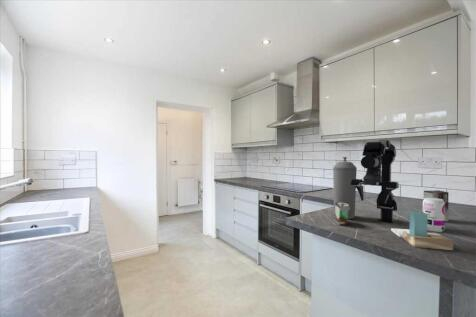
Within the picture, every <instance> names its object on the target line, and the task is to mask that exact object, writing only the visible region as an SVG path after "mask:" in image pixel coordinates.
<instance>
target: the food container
mask: <svg viewBox="0 0 476 317" xmlns="http://www.w3.org/2000/svg"><path fill="white" fill-rule="evenodd" d="M348 210H350V207H349V205H348V204H346V203H342V202H335V216H334V218H335V222H336V223H337V225H338V226H347V225H348V220H349V219H348Z"/></svg>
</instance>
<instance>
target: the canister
mask: <svg viewBox="0 0 476 317" xmlns="http://www.w3.org/2000/svg"><path fill="white" fill-rule="evenodd" d="M342 159H343V161H342V160H341V161H337V163H336V164H334V166H332V170H333V171H332V173H333V175H332V176H333V177H332V179H333V180H332V181H333V215H334V217H335V202H342V203H346V204H348V205H349V207H350V210H348V220H353V219H355V217H356V216H355V214H356V197H357V196H356V194H357V192H356V191H357V188H356V187H354V185H351V180H352V179H357V170H358V168H357V166H356V165H354V163H353V162H351V161H347V159H348V157H347V156H343V157H342Z"/></svg>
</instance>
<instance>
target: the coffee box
mask: <svg viewBox="0 0 476 317" xmlns="http://www.w3.org/2000/svg"><path fill="white" fill-rule="evenodd" d="M424 198H439V199H443V201H444V202H445V222H449V192H448V191H444V190H439V189H438V190H434V189H433V190H423V199H424Z"/></svg>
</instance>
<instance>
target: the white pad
mask: <svg viewBox="0 0 476 317" xmlns="http://www.w3.org/2000/svg"><path fill="white" fill-rule="evenodd" d="M390 229H391V230H390V231H391V232H393V233H394V234H395V235H397V237H398V238H403V231H406V232H407V233H409V232H410V229H408V228H407V229H406V228H405V229H404V228H390Z"/></svg>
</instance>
